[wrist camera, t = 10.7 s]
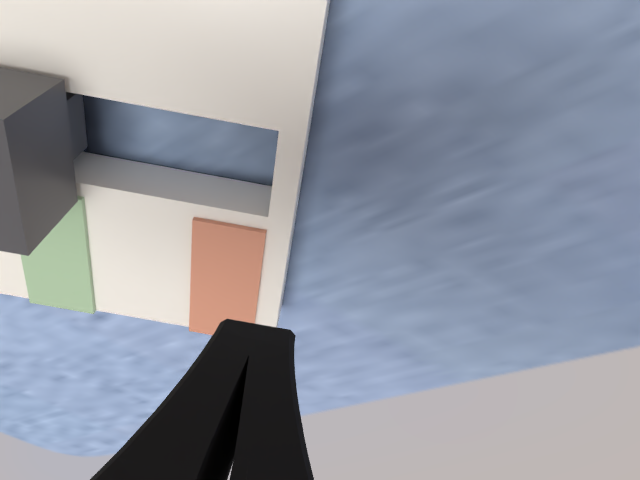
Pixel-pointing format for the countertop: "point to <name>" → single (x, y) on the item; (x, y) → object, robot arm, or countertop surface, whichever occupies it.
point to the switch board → (163, 182)
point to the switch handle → (36, 156)
